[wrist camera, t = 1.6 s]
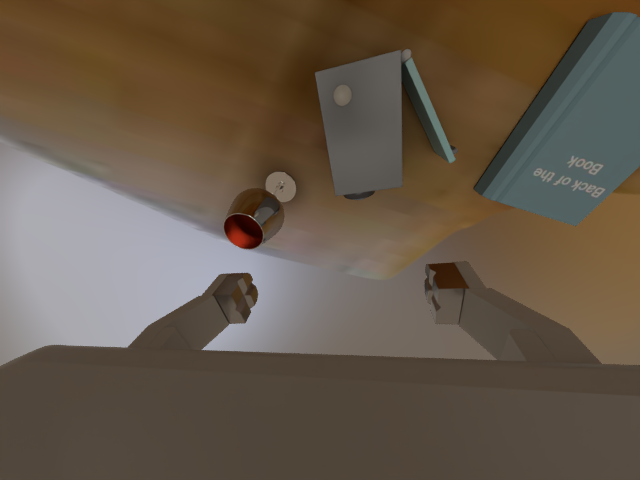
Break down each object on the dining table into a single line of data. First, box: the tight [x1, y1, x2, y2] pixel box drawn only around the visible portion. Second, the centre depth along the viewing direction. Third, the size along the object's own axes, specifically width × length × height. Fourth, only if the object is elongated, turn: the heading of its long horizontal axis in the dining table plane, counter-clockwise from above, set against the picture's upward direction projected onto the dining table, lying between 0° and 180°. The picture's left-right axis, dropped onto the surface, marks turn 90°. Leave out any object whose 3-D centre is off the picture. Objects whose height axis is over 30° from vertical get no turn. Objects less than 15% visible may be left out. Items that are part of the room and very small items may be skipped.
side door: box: [401, 49, 458, 163], centre depth 32 cm, size 15×2×8 cm, turn 36°
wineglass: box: [223, 171, 296, 250], centre depth 38 cm, size 8×8×18 cm
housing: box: [315, 50, 402, 200], centre depth 34 cm, size 18×10×10 cm, turn 11°
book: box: [474, 12, 640, 226], centre depth 33 cm, size 23×16×5 cm
